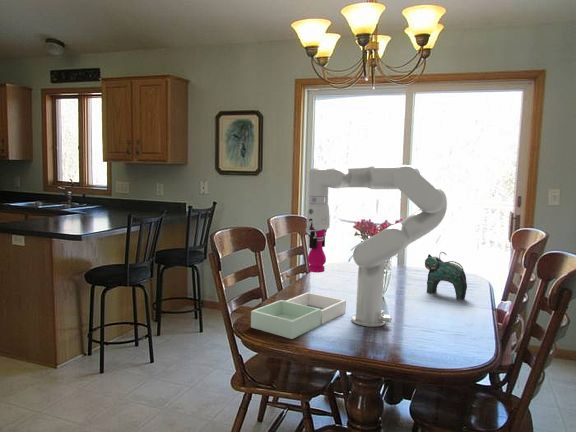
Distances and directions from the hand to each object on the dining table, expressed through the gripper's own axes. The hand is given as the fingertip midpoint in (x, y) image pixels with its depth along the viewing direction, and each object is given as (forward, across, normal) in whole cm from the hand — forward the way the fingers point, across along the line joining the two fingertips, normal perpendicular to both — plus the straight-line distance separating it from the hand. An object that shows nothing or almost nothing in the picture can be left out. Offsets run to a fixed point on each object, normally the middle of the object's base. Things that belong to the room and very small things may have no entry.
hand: (317, 246), depth 181 cm
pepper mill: (+10, 0, 0) cm, 10 cm away
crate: (+27, 0, 0) cm, 27 cm away
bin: (+27, -19, 0) cm, 33 cm away
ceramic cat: (+27, +62, -32) cm, 75 cm away
